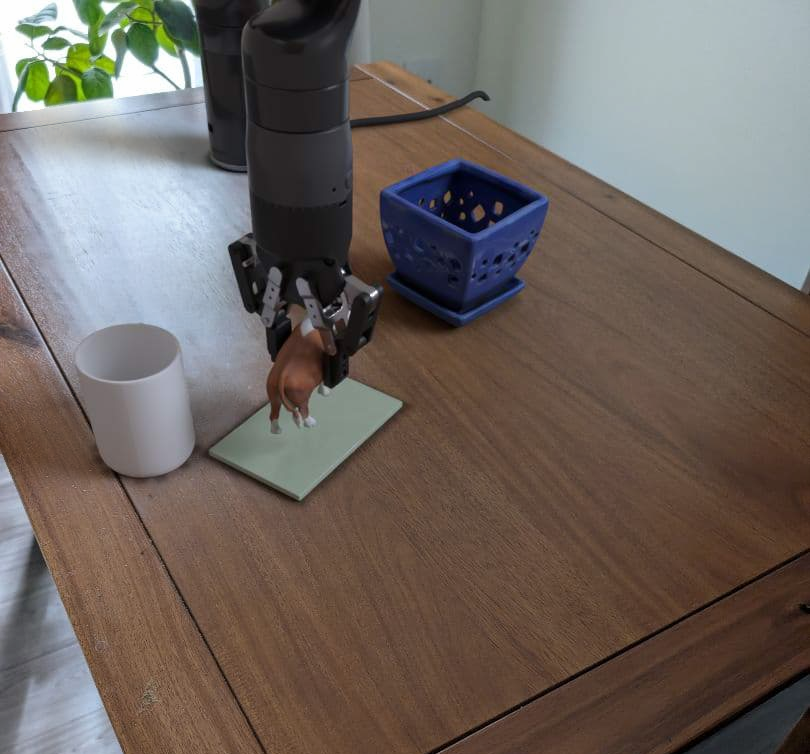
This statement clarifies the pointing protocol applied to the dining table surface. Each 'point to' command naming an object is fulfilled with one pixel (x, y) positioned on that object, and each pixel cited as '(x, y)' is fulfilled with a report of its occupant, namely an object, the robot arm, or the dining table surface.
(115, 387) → the cup
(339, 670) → the dining table surface
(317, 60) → the robot arm
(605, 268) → the dining table surface
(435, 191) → the flower pot
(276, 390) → the bull figurine
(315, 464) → the tile
